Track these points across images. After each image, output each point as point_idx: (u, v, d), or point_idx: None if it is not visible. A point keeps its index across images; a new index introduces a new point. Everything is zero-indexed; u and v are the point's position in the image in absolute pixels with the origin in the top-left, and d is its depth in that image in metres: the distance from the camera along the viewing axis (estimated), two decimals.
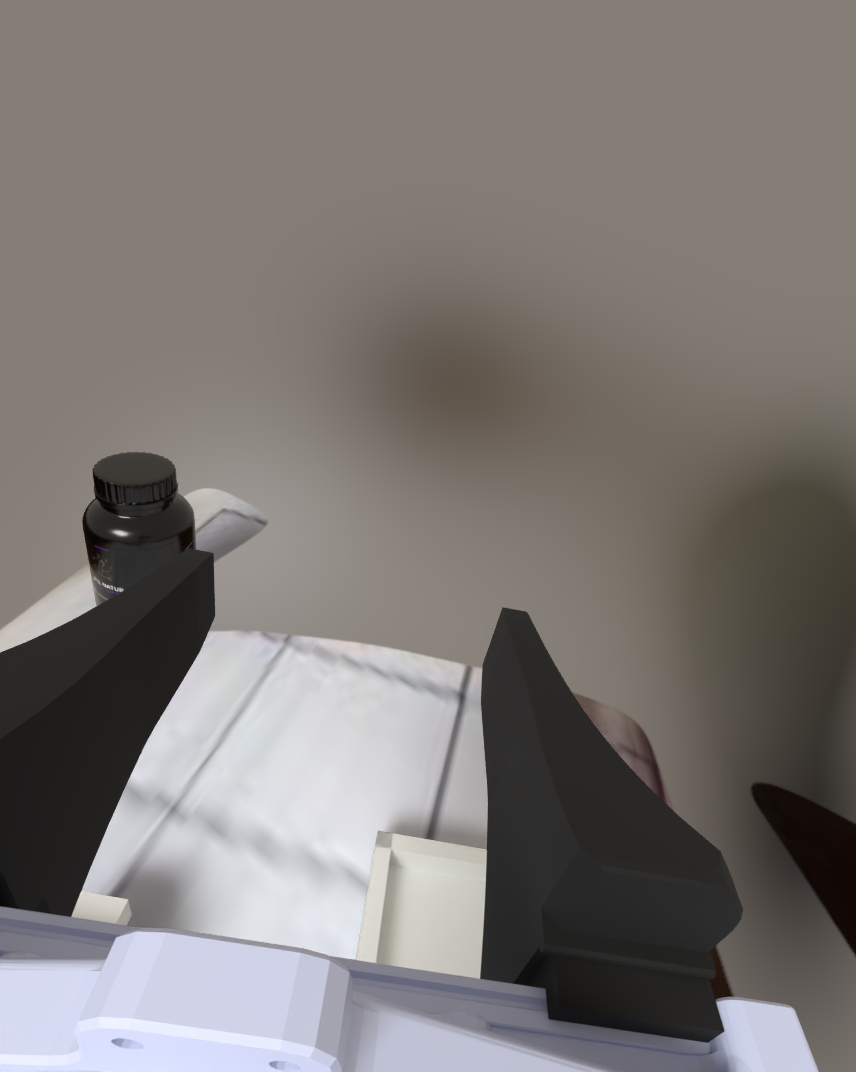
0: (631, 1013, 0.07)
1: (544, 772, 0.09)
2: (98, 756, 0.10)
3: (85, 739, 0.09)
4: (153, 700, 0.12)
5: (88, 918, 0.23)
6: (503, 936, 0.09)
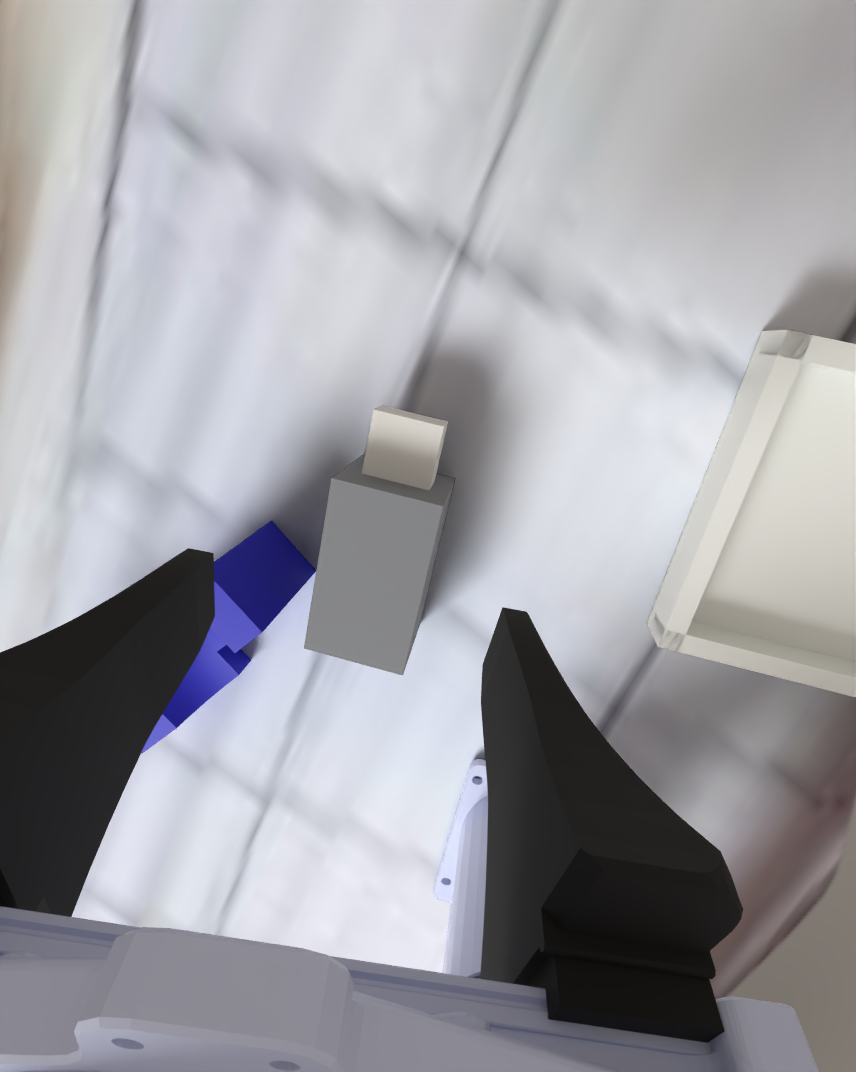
0: (630, 1013, 0.07)
1: (544, 772, 0.09)
2: (98, 756, 0.10)
3: (85, 739, 0.09)
4: (153, 700, 0.12)
5: (407, 444, 0.20)
6: (503, 937, 0.09)
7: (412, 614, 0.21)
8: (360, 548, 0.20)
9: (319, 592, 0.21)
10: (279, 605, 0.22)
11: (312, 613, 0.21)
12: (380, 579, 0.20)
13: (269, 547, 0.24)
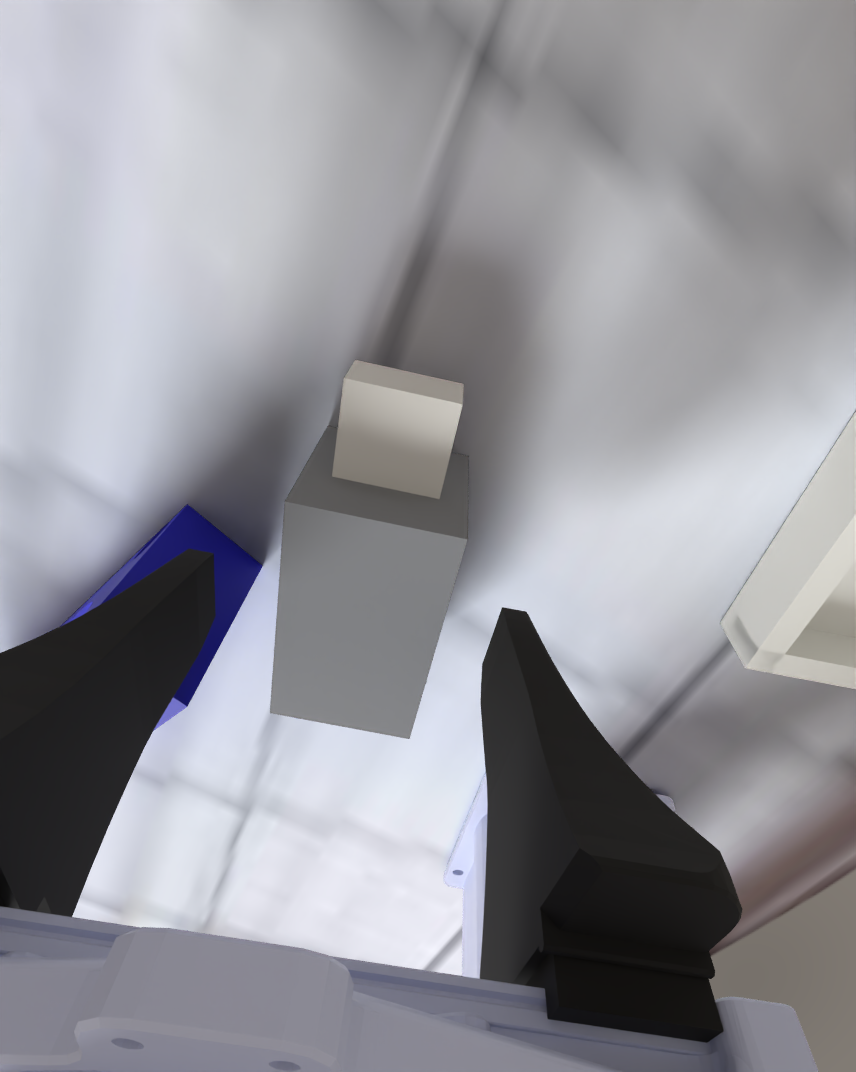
0: (630, 1013, 0.07)
1: (543, 772, 0.09)
2: (99, 756, 0.10)
3: (86, 739, 0.09)
4: (154, 700, 0.12)
5: (402, 432, 0.12)
6: (502, 936, 0.09)
7: (421, 674, 0.15)
8: (340, 596, 0.13)
9: (283, 650, 0.14)
10: (211, 646, 0.15)
11: (276, 674, 0.15)
12: (372, 634, 0.14)
13: None
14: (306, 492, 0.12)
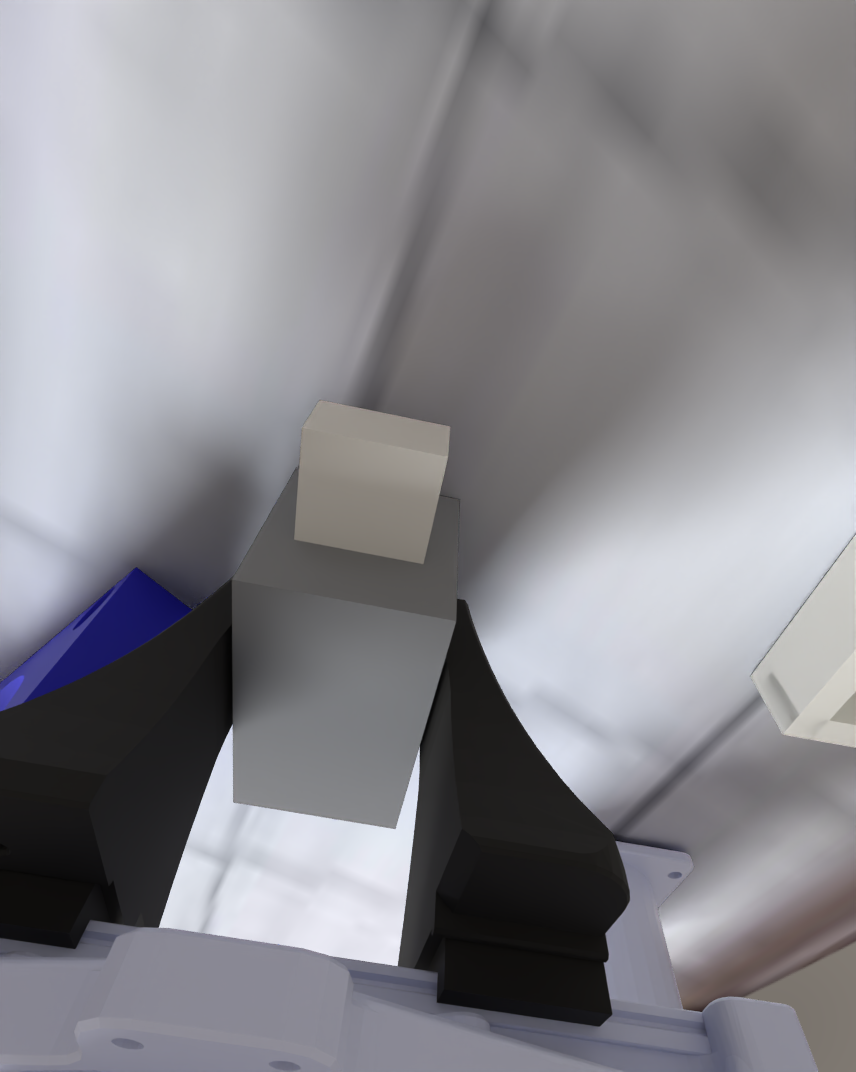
0: (517, 996, 0.07)
1: (450, 756, 0.09)
2: (186, 770, 0.10)
3: (178, 755, 0.09)
4: (226, 712, 0.12)
5: (376, 489, 0.10)
6: (413, 922, 0.09)
7: (406, 764, 0.12)
8: (306, 683, 0.11)
9: (244, 739, 0.12)
10: None
11: (237, 764, 0.13)
12: (346, 722, 0.12)
13: (132, 626, 0.14)
14: (260, 564, 0.10)
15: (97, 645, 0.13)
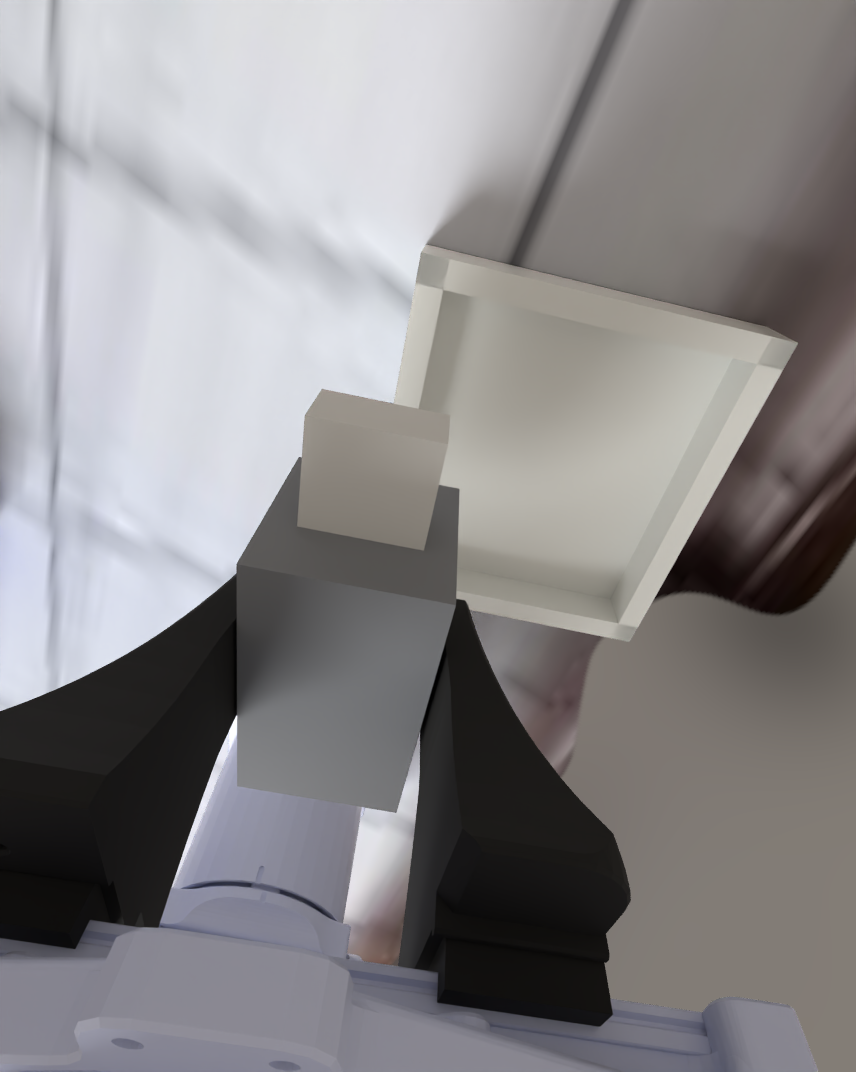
0: (518, 996, 0.07)
1: (450, 757, 0.09)
2: (185, 770, 0.10)
3: (178, 754, 0.09)
4: (226, 712, 0.12)
5: (378, 476, 0.11)
6: (414, 923, 0.09)
7: (407, 747, 0.13)
8: (309, 667, 0.11)
9: (248, 723, 0.12)
10: None
11: (241, 747, 0.13)
12: (348, 706, 0.12)
13: None
14: (264, 549, 0.10)
15: None
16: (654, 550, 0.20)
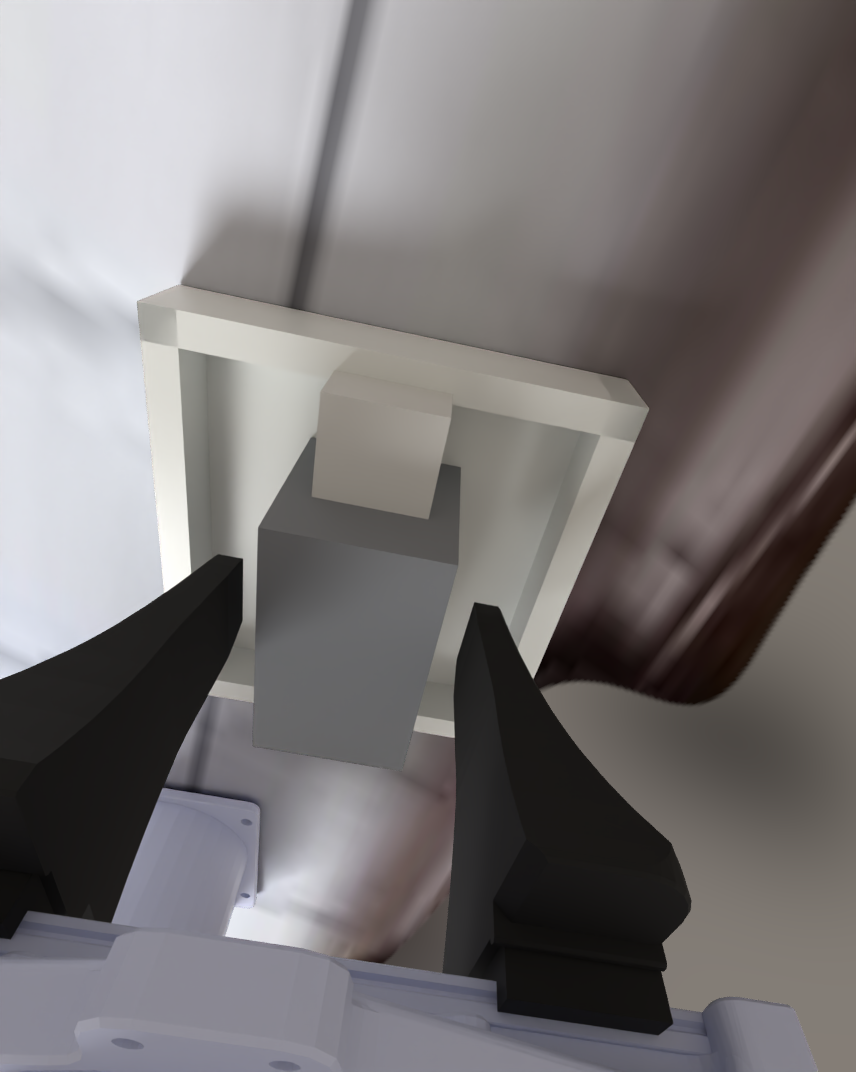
0: (579, 1005, 0.07)
1: (501, 765, 0.09)
2: (139, 763, 0.10)
3: (128, 746, 0.09)
4: (187, 706, 0.12)
5: (386, 449, 0.11)
6: (461, 930, 0.09)
7: (413, 705, 0.14)
8: (322, 626, 0.12)
9: (264, 682, 0.13)
10: None
11: (257, 707, 0.14)
12: (358, 664, 0.13)
13: None
14: (282, 516, 0.11)
15: None
16: None
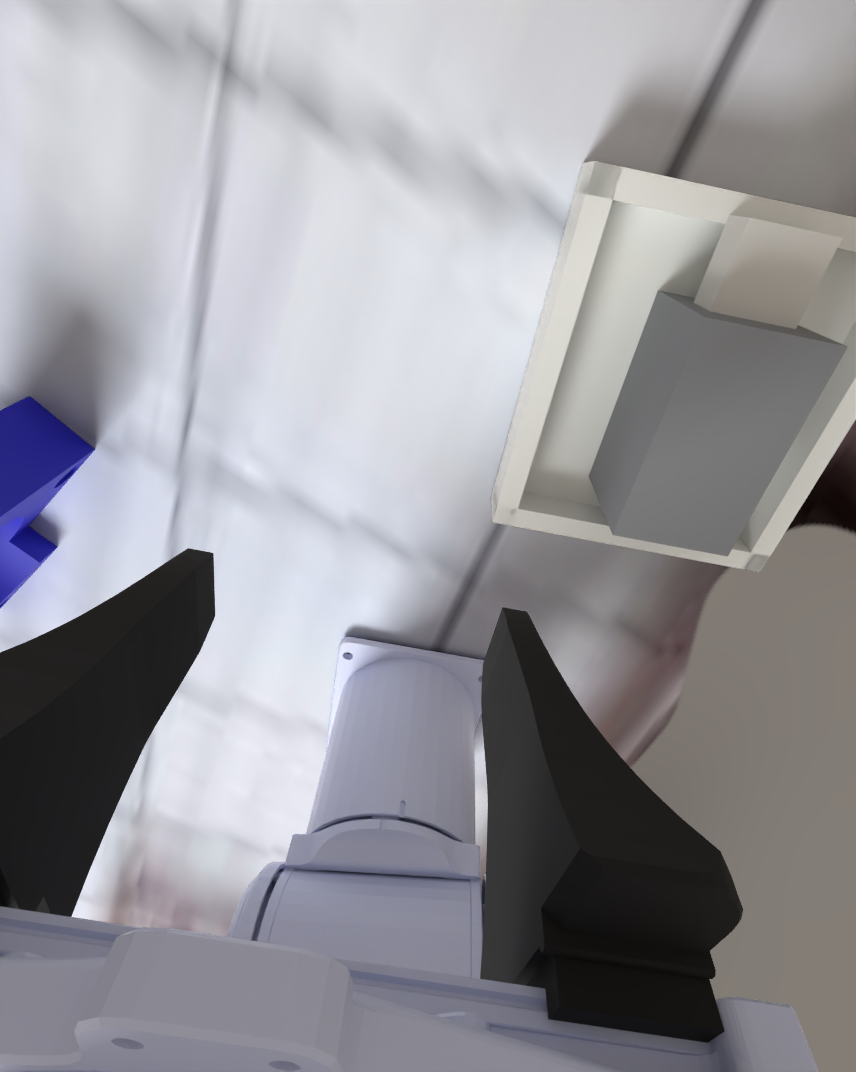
0: (630, 1013, 0.07)
1: (544, 773, 0.09)
2: (98, 756, 0.10)
3: (85, 739, 0.09)
4: (153, 700, 0.12)
5: (784, 266, 0.15)
6: (503, 936, 0.09)
7: (762, 486, 0.17)
8: (719, 409, 0.16)
9: (649, 468, 0.17)
10: (30, 488, 0.20)
11: (633, 493, 0.18)
12: (733, 446, 0.17)
13: (22, 426, 0.21)
14: (709, 315, 0.15)
15: None
16: (794, 471, 0.20)
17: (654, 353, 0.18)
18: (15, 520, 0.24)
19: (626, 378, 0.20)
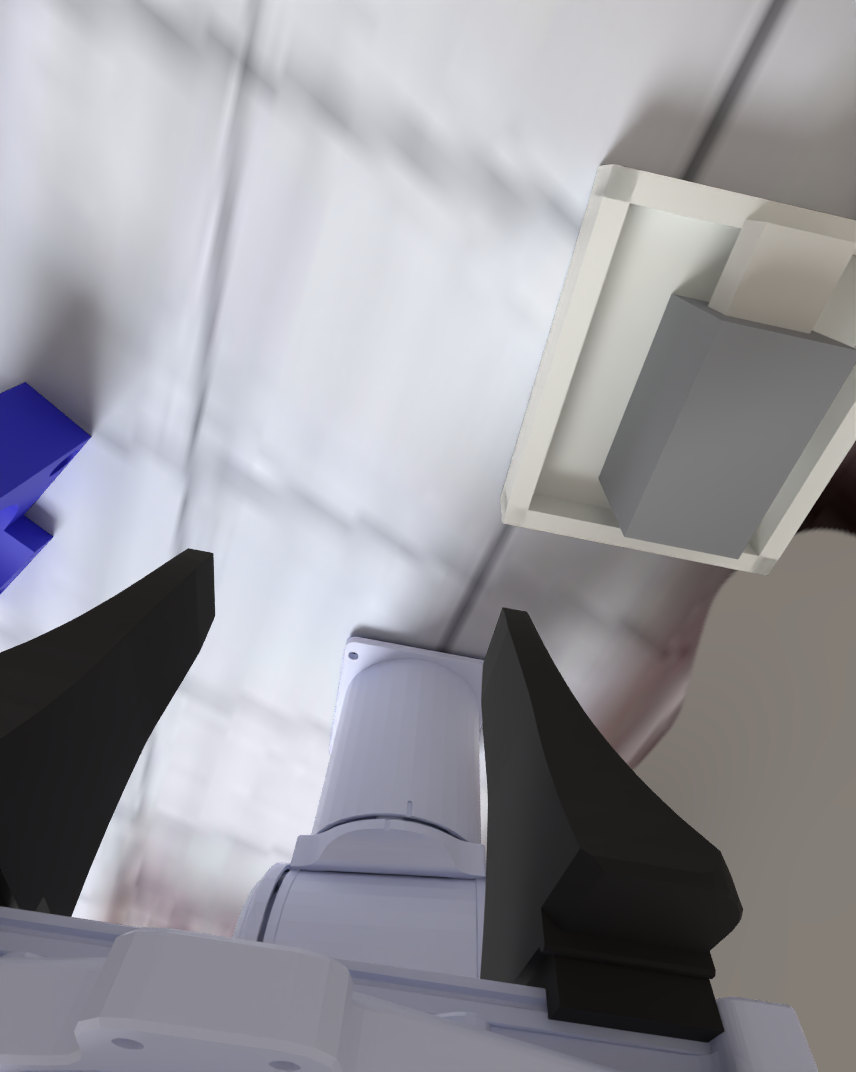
0: (630, 1013, 0.07)
1: (544, 772, 0.09)
2: (98, 756, 0.10)
3: (85, 739, 0.09)
4: (153, 700, 0.12)
5: (800, 271, 0.16)
6: (503, 936, 0.09)
7: (774, 490, 0.17)
8: (733, 412, 0.16)
9: (662, 470, 0.17)
10: (24, 475, 0.20)
11: (646, 495, 0.18)
12: (746, 450, 0.17)
13: (16, 412, 0.21)
14: (725, 319, 0.15)
15: None
16: (804, 476, 0.20)
17: (668, 356, 0.18)
18: (10, 509, 0.24)
19: (638, 381, 0.20)
